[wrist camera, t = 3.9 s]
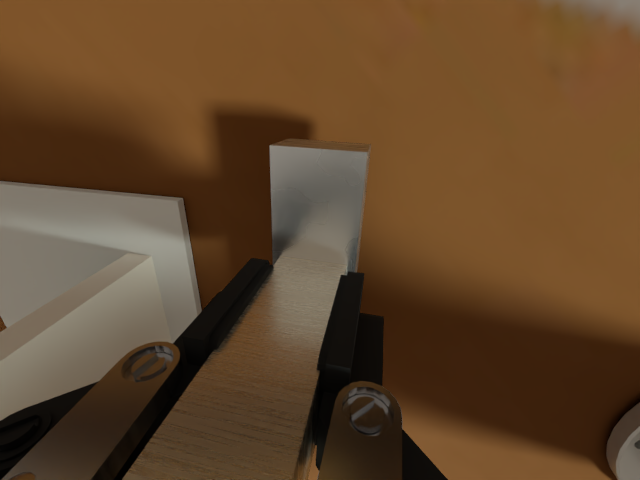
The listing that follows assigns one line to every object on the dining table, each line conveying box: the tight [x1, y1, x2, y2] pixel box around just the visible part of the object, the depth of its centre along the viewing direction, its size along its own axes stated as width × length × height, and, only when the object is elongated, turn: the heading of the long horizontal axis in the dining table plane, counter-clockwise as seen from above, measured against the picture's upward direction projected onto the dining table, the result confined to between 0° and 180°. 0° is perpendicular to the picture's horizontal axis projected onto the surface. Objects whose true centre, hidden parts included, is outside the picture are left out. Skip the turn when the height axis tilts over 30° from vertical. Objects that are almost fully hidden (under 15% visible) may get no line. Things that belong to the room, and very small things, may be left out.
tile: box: [0, 253, 172, 421], centre depth 14 cm, size 2×9×11 cm, turn 178°
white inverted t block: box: [122, 139, 371, 480], centre depth 9 cm, size 3×10×10 cm, turn 178°
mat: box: [0, 181, 202, 344], centre depth 20 cm, size 16×16×1 cm
